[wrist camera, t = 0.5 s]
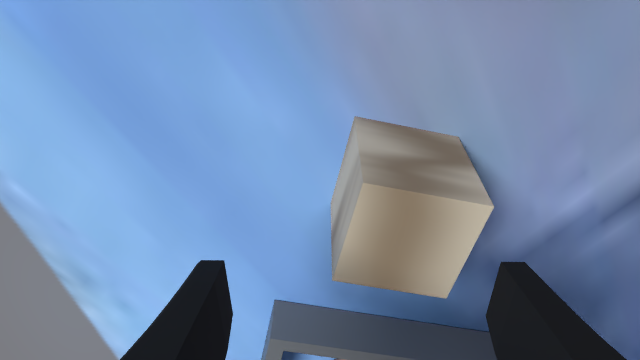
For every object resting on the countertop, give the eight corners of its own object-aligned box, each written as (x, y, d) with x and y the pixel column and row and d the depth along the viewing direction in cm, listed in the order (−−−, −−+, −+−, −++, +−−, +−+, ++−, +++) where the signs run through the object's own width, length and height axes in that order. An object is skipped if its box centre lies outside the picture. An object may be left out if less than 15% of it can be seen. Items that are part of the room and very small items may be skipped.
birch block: (457, 136, 20) (494, 206, 15) (423, 218, 22) (446, 298, 18) (354, 115, 19) (363, 182, 15) (330, 201, 21) (332, 280, 17)
